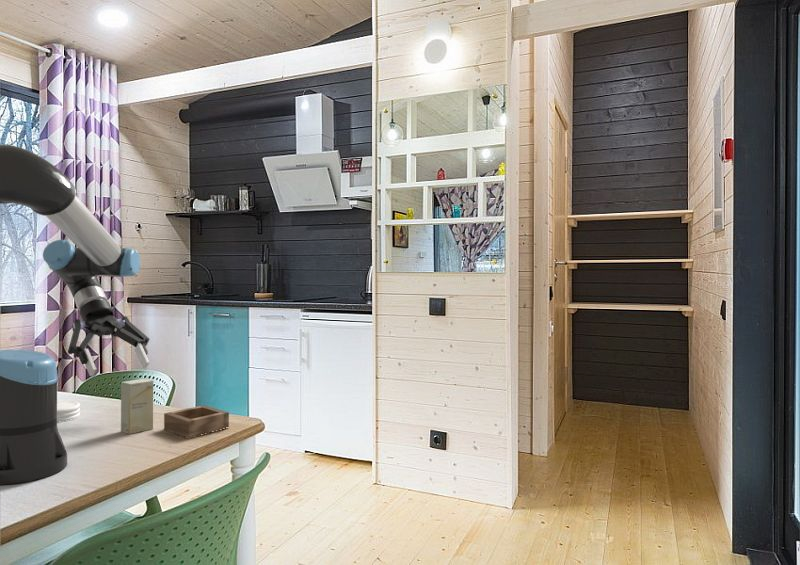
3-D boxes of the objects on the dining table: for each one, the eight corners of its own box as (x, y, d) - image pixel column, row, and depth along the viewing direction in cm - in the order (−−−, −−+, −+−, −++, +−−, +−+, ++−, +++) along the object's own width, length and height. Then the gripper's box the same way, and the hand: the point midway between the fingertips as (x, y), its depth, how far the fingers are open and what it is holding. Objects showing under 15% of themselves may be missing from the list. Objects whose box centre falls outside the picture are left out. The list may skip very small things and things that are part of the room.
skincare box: (129, 434, 137) (129, 384, 136) (120, 431, 139) (119, 381, 139) (154, 428, 142) (154, 380, 141) (144, 425, 144) (144, 377, 144)
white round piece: (65, 424, 145) (65, 410, 145) (27, 423, 146) (26, 409, 146) (87, 414, 155) (87, 401, 155) (51, 413, 156) (51, 400, 156)
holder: (188, 438, 135) (188, 421, 134) (164, 429, 141) (164, 413, 141) (228, 428, 143) (228, 412, 143) (203, 420, 150) (203, 405, 150)
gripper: (134, 313, 167) (161, 371, 158) (39, 319, 147) (63, 385, 138) (143, 296, 163) (171, 354, 154) (47, 299, 144) (73, 366, 135)
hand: (120, 369), depth 146 cm, fingers open, 13 cm apart
